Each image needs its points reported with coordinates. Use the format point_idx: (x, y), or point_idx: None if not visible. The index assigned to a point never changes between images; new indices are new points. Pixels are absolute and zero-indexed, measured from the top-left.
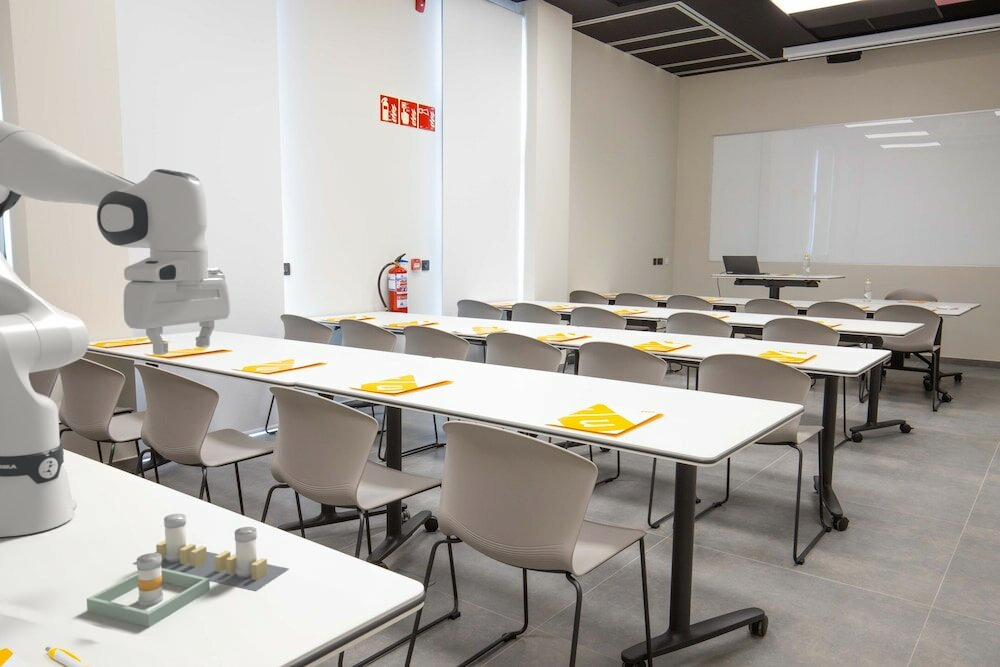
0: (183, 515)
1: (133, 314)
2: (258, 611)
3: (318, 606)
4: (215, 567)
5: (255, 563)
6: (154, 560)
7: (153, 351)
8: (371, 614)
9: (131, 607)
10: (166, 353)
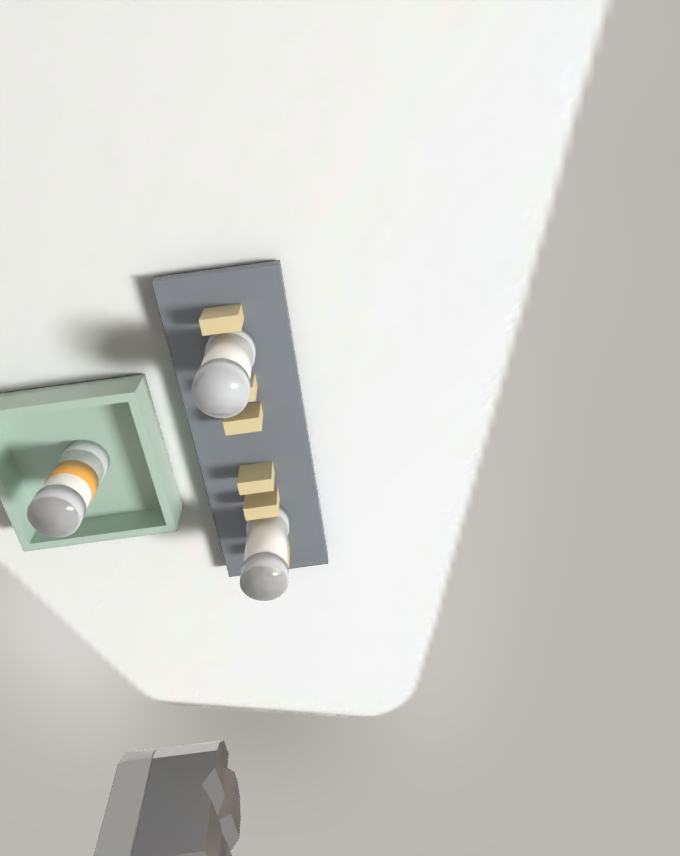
0: (243, 400)
1: None
2: (206, 591)
3: (273, 644)
4: (239, 471)
5: None
6: (54, 535)
7: (118, 773)
8: (298, 705)
9: (13, 510)
10: (234, 786)
